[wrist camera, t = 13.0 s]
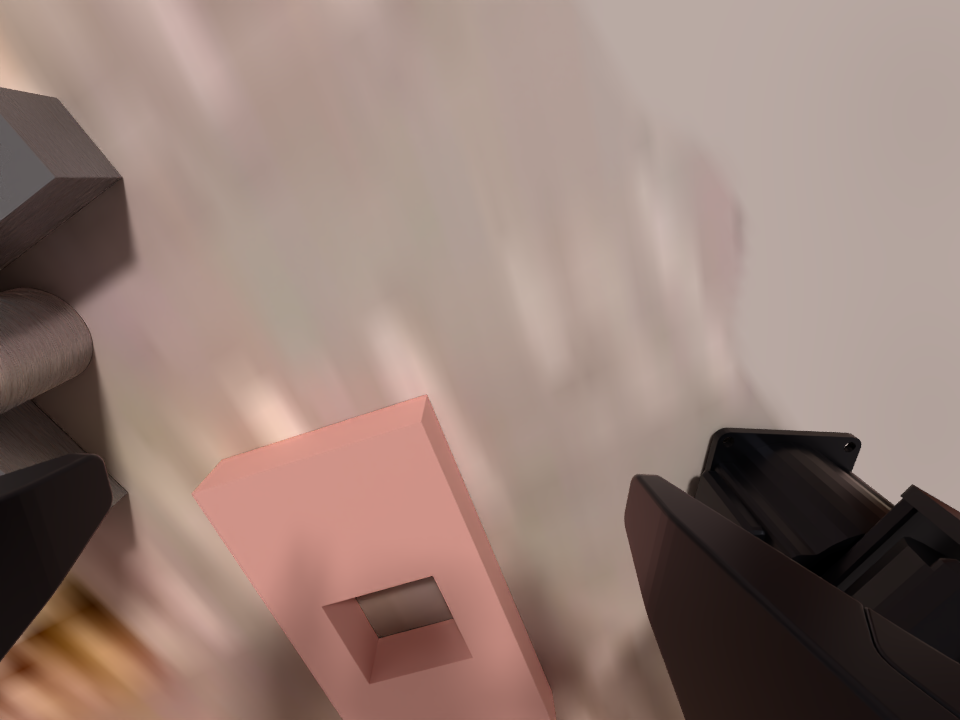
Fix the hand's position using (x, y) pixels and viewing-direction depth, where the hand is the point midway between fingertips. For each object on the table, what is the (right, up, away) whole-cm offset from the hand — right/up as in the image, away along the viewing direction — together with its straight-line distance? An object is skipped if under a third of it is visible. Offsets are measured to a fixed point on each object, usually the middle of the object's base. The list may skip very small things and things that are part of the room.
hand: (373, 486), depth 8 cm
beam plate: (-2, -10, +17) cm, 19 cm away
